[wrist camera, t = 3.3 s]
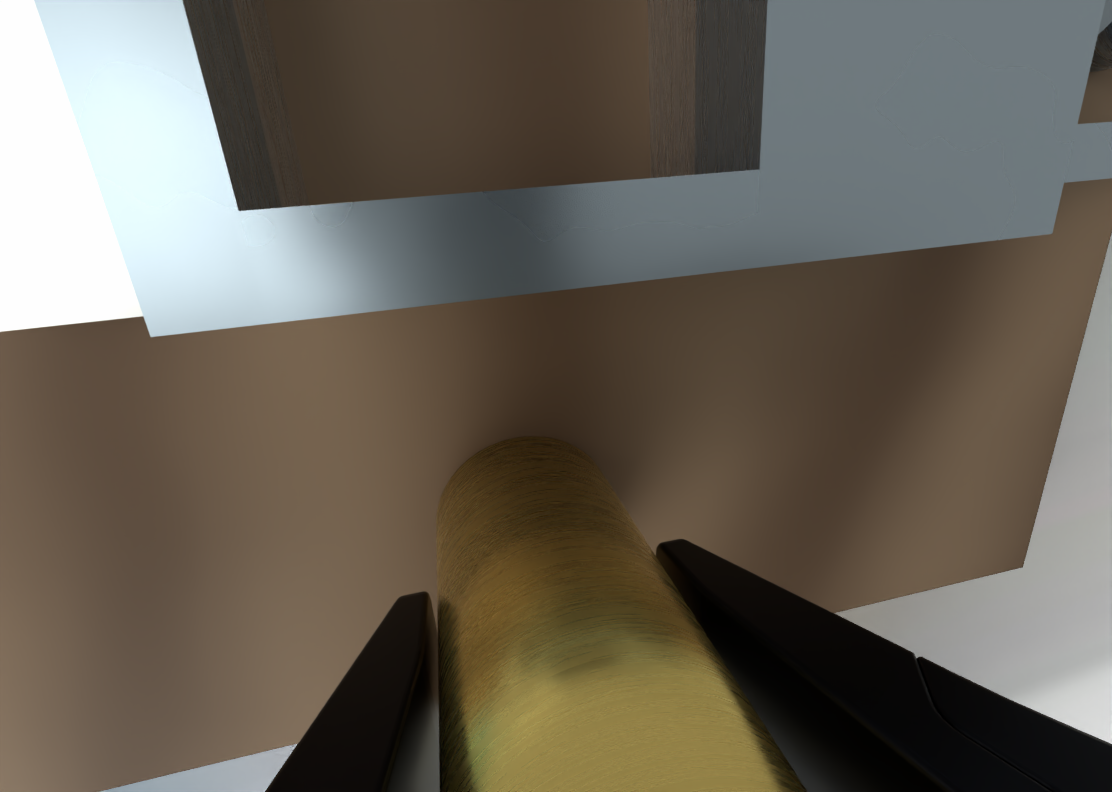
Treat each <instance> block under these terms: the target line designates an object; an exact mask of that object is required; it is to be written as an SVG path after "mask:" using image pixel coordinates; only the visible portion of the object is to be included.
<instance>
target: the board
mask: <svg viewBox="0 0 1112 792" xmlns="http://www.w3.org/2000/svg"><path fill="white" fill-rule="evenodd" d="M264 4H265V9H266V13H267V18H268V22H269V27H270V31H271V36H272V40H273V45H274V49H275V54H276V58H277V63H278V67H279V72H280V76H281V81H282V85H283V90H284V94H285V99H286V103H287V107H288V112H289V116H290V121H291V125H292V130H293V134H294V139H295V143H296V148H297V152H298V157H299V161H300V166H301V170H302V175H303V179H304V184H305V188H306V193H307V197H308V202H309V205H321V204H334V203H346V202H359V201H371V200H384V199H396V198H409V197H421V196H434V195H446V194H459V193H471V192H484V191H496V190H509V189H521V188H534V187H546V186H559V185H571V184H584V183H596V182H609V181H621V180H634V179H646V178H651V159H650V100H649V41H648V0H264ZM1101 122H1112V68H1111V69H1106V70H1101V71H1095V72H1089V76H1088V80H1087V84H1086V89H1085V93H1084V98H1083V102H1082V106H1081V111H1080V115H1079V119H1078V124H1087V123H1101ZM1111 233H1112V178H1109V179H1099V180H1088V181H1077V182H1067V183H1064V185H1063V189H1062V194H1061V198H1060V202H1059V207H1058V211H1057V215H1056V220H1055V224H1054V229H1053V233H1052V234H1047V235H1038V236H1030V237H1021V238H1012V239H1004V240H995V241H986V242H977V243H969V244H960V245H951V246H942V247H934V248H925V249H916V250H907V251H899V252H890V253H881V254H873V255H864V256H855V257H846V258H838V259H829V260H820V261H811V262H803V263H794V264H785V265H777V266H768V267H759V268H750V269H742V270H733V271H724V272H715V273H707V274H698V275H689V276H680V277H672V278H663V279H654V280H646V281H637V282H628V283H619V284H611V285H602V286H593V287H584V288H576V289H567V290H558V291H550V292H541V293H532V294H523V295H515V296H506V297H497V298H488V299H480V300H471V301H462V302H453V303H445V304H436V305H427V306H419V307H410V308H401V309H392V310H384V311H375V312H366V313H357V314H349V315H340V316H331V317H323V318H314V319H305V320H296V321H288V322H279V323H270V324H261V325H253V326H244V327H235V328H226V329H218V330H209V331H200V332H192V333H183V334H174V335H165V336H157V337H150V334H149V331H148V328H147V325H146V322H145V319H144V316H141V317H131V318H122V319H113V320H104V321H94V322H85V323H76V324H67V325H57V326H48V327H39V328H30V329H20V330H11V331H2V332H0V792H99V791H103V790H107V789H111V788H116V787H120V786H124V785H128V784H132V783H136V782H140V781H144V780H149V779H153V778H157V777H161V776H165V775H169V774H173V773H177V772H181V771H186V770H190V769H194V768H198V767H202V766H206V765H210V764H214V763H219V762H223V761H227V760H231V759H235V758H239V757H243V756H247V755H251V754H256V753H260V752H264V751H268V750H272V749H276V748H280V747H284V746H289V745H293V744H297V743H299V741H300V740H301V739H302V737H303V736H304V734H305V733H306V731H307V730H308V728H309V727H310V725H311V724H312V722H313V721H314V720H315V718H316V717H317V715H318V714H319V712H320V711H321V709H322V708H323V706H324V705H325V703H326V702H327V701H328V699H329V698H330V696H331V695H332V693H333V692H334V690H335V689H336V687H337V686H338V684H339V683H340V682H341V680H342V679H343V677H344V676H345V674H346V673H347V671H348V670H349V668H350V667H351V665H352V664H353V663H354V661H355V660H356V658H357V657H358V655H359V654H360V652H361V651H362V649H363V648H364V646H365V645H366V644H367V642H368V641H369V639H370V638H371V636H372V635H373V633H374V632H375V630H376V629H377V627H378V626H379V625H380V623H381V622H382V620H383V619H384V617H385V616H386V614H387V613H388V611H389V610H390V608H391V607H392V606H393V604H394V603H395V601H396V600H397V599H398V598H399V597H400V596H403V595H407V594H412V593H417V592H422V591H426V592H428V593H429V595H430V598H431V602H432V607H433V612H434V617H435V622H436V627H437V633H438V622H437V545H436V515H437V508H438V504H439V501H440V498H441V495H442V493H443V491H444V488H445V486H446V485H447V483H448V482H449V480H450V478H451V477H452V476H453V474H454V473H455V472H456V471H457V470H458V468H459V467H460V466H461V465H462V464H464V463H465V462H466V461H467V460H468V459H469V458H470V457H472V456H473V455H475V454H476V453H477V452H479V451H481V450H483V449H484V448H486V447H488V446H490V445H493V444H495V443H498V442H500V441H504V440H507V439H511V438H516V437H523V436H541V437H550V438H554V439H558V440H561V441H564V442H567V443H569V444H571V445H573V446H575V447H577V448H579V449H580V450H581V451H583V452H584V453H586V454H587V455H588V456H589V457H590V458H591V459H592V460H593V461H594V462H595V463H596V465H597V466H598V467H599V469H600V470H601V471H602V473H603V475H604V476H605V478H606V479H607V481H608V482H609V484H610V485H611V487H612V489H613V490H614V492H615V493H616V495H617V496H618V498H619V499H620V501H621V503H622V504H623V506H624V507H625V509H626V510H627V512H628V513H629V515H630V517H631V518H632V520H633V521H634V523H635V524H636V526H637V527H638V529H639V531H640V532H641V534H642V535H643V537H644V538H645V540H646V541H647V543H648V545H649V546H650V548H651V549H652V551H653V552H654V554H655V555H656V548H657V546H658V544H659V543H661V542H666V541H671V540H676V539H685V540H687V541H689V542H692V543H694V544H696V545H698V546H700V547H702V548H704V549H706V550H708V551H710V552H712V553H714V554H716V555H718V556H720V557H722V558H724V559H726V560H728V561H730V562H732V563H734V564H736V565H738V566H740V567H742V568H744V569H746V570H748V571H750V572H752V573H754V574H756V575H758V576H760V577H762V578H764V579H766V580H768V581H770V582H772V583H774V584H776V585H778V586H780V587H782V588H784V589H786V590H788V591H790V592H792V593H794V594H796V595H798V596H800V597H802V598H804V599H806V600H808V601H810V602H812V603H814V604H816V605H818V606H820V607H822V608H824V609H826V610H828V611H830V612H832V613H836V612H840V611H844V610H848V609H853V608H857V607H861V606H865V605H869V604H873V603H877V602H881V601H886V600H890V599H894V598H898V597H902V596H906V595H910V594H914V593H918V592H923V591H927V590H931V589H935V588H939V587H943V586H947V585H951V584H956V583H960V582H964V581H968V580H972V579H976V578H980V577H984V576H988V575H993V574H997V573H1001V572H1005V571H1009V570H1013V569H1017V568H1021V567H1023V564H1024V561H1025V557H1026V553H1027V549H1028V546H1029V542H1030V538H1031V534H1032V531H1033V527H1034V523H1035V519H1036V515H1037V512H1038V508H1039V504H1040V500H1041V497H1042V493H1043V489H1044V485H1045V482H1046V478H1047V474H1048V470H1049V466H1050V463H1051V459H1052V455H1053V451H1054V448H1055V444H1056V440H1057V436H1058V432H1059V429H1060V425H1061V421H1062V417H1063V414H1064V410H1065V406H1066V402H1067V399H1068V395H1069V391H1070V387H1071V383H1072V380H1073V376H1074V372H1075V368H1076V365H1077V361H1078V357H1079V353H1080V350H1081V346H1082V342H1083V338H1084V334H1085V331H1086V327H1087V323H1088V319H1089V316H1090V312H1091V308H1092V304H1093V300H1094V297H1095V293H1096V289H1097V285H1098V282H1099V278H1100V274H1101V270H1102V267H1103V263H1104V259H1105V255H1106V251H1107V248H1108V244H1109V240H1110V236H1111Z"/></svg>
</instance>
